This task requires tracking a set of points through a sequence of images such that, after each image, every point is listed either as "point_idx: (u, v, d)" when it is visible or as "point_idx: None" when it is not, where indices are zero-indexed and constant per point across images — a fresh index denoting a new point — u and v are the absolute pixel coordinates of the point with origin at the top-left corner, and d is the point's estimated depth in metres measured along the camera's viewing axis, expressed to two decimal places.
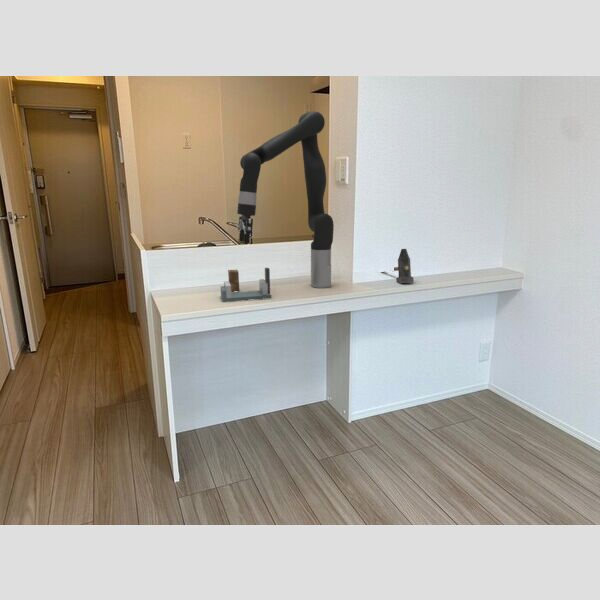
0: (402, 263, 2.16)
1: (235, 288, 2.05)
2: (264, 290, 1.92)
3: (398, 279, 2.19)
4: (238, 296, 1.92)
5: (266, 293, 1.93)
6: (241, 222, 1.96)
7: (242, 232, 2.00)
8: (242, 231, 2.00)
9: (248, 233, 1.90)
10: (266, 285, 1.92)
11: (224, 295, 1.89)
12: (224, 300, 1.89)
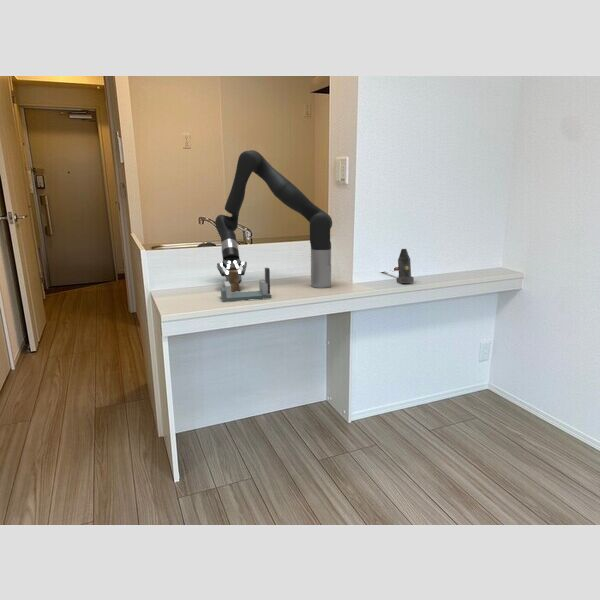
0: (402, 263, 2.17)
1: (235, 288, 2.05)
2: (264, 290, 1.92)
3: (398, 279, 2.20)
4: (238, 296, 1.92)
5: (266, 293, 1.93)
6: None
7: None
8: None
9: (223, 275, 2.06)
10: (266, 285, 1.92)
11: (224, 295, 1.89)
12: (224, 300, 1.89)
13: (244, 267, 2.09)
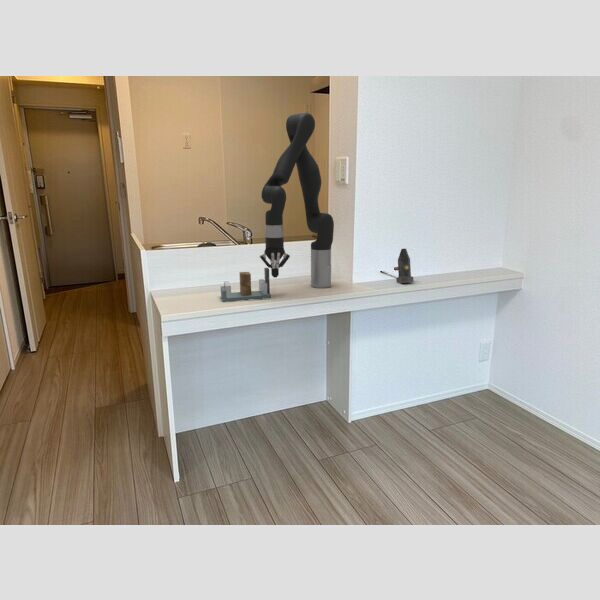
0: (402, 263, 2.17)
1: (247, 291, 1.93)
2: (264, 290, 1.92)
3: (398, 279, 2.20)
4: (238, 296, 1.92)
5: (266, 293, 1.93)
6: None
7: (275, 268, 1.95)
8: (275, 267, 1.95)
9: (269, 267, 1.95)
10: (266, 285, 1.92)
11: (224, 295, 1.89)
12: (224, 300, 1.89)
13: (284, 261, 1.95)
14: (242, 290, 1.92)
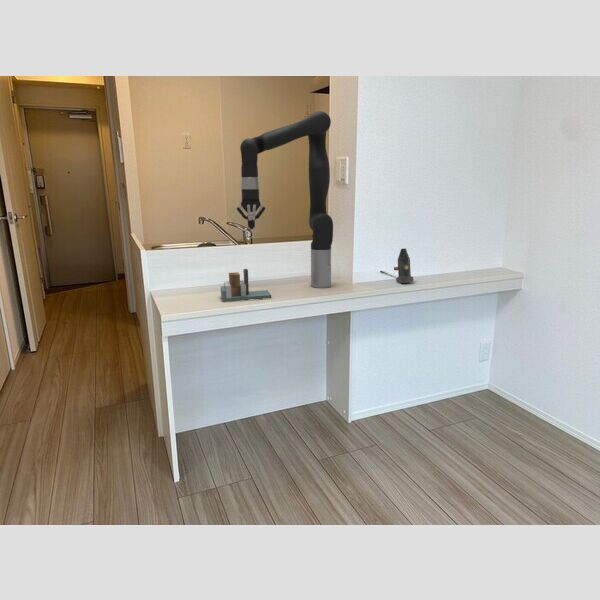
0: (402, 263, 2.17)
1: (236, 292, 1.92)
2: (242, 291, 1.90)
3: (398, 279, 2.20)
4: (238, 296, 1.92)
5: (244, 294, 1.91)
6: None
7: (251, 220, 2.03)
8: (251, 219, 2.03)
9: None
10: (244, 286, 1.90)
11: (224, 295, 1.89)
12: (224, 300, 1.89)
13: (260, 213, 2.02)
14: (231, 291, 1.91)
